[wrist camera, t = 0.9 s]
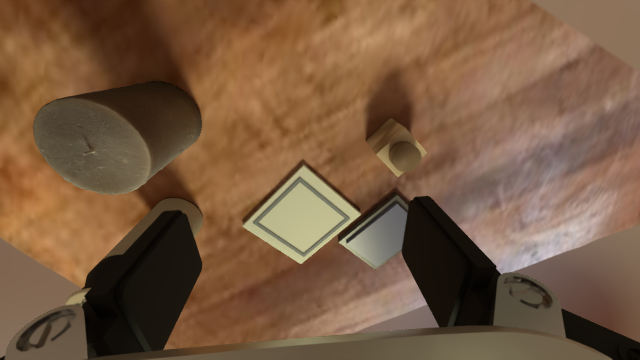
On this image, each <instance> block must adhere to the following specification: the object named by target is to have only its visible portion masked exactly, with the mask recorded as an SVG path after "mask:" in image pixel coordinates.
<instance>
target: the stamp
mask: <svg viewBox="0 0 640 360" xmlns="http://www.w3.org/2000/svg"><path fill="white" fill-rule="evenodd" d="M366 142H367V143H368V144H369V146H370V147H371V148H372V150H373V151H374V152H375V154H376V155H377V156H378V157H379V158H380V159H381V160H382V161H383V162H384V163H385V164H386V165H387V166H388V167H389V168H390V169H391V170H392V171H393V172H394V173H395V174H396V175H397V176H398V177H399V176H400V175H401V174H402V173H404V172H408V171H411V170H413V169H415V168H416V167H417V166H418V165H419V163H420V161H421V158H422V157H423V156H424V155H425V154H426V153H427V152H426V151H425V150H424V149H423V148H422V146H421V145H420V144H419V143H418V142H417V141H416V139H415V138H414V137H413V136H412V135H411V134H410V132H409V131H408V130H407V129H406V128H405V127H404V126H402V125H401V124H399V123H398V122H396V121H395V120H393V119H392V118H390V119H389V120H388V121H387V122H386V123H384V124H383V125H382V126H381V127H380V128H379V129H378V130H377V131H376V132H375V133H374V134H373V135H372V136H371V137H369V138H368V139H367V140H366Z"/></svg>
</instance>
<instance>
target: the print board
mask: <svg viewBox="0 0 640 360" xmlns="http://www.w3.org/2000/svg"><path fill="white" fill-rule="evenodd" d="M360 215H361V213H360V211H358V210H357V209H356V208H355V207H354V206H353V205H351V204H350V203H349V202H348V201H347V200H345V199H344V198H343V197H342V196H341V195H340V194H338V193H337V192H336V191H335V190H334V189H333V188H331V187H330V186H329V185H328V184H327V183H326V182H324V181H323V180H322V179H321V178H320V177H319V176H317V175H316V174H315V173H314V172H313V171H311V170H310V169H309V168H308V167H307V166H306V165H304V164H303V165H302V166H301V167H300V168H299V169H298V170H297V171H296V172H295V173H294V174H293V175H292V176H291V177H290V178H289V179H288V180H287V181H286V182H285V183H284V184H283V185H282V186H281V187H280V188H279V189H278V190H277V191H276V192H275V193H274V194H273V195H272V196H271V197H270V198H269V199H268V200H267V201H266V202H265V203H264V204H263V205H262V206H261V207H260V208H259V209H258V210H257V211H255V212H254V213H253V214H252V215H251V216H250V217H249V218H248V219H247V220H246V221H245V222H244V223H243V227H244V228H246V229H247V230H249V231H250V232H252V233H253V234H255V235H256V236H258V237H260V238H261V239H263V240H264V241H266V242H267V243H269V244H270V245H272V246H273V247H275V248H277V249H278V250H280V251H281V252H283V253H284V254H286V255H287V256H289V257H290V258H292V259H294V260H295V261H297V262H298V263H300V264H301V263H303V262H304V261H305V260H306V259H308V258H309V257H310V256H311V255H312V254H314V253H315V252H316V251H317V250H319V249H320V248H321V247H322V246H323V245H325V244H326V243H327V242H328V241H329V240H331V239H332V238H333V237H334V236H336V235H337V234H338V233H339V232H340V231H342V230H343V229H344V228H345V227H347V226H348V225H349V224H350V223H351V222H353V221H354V220H355V219H356V218H357V217H359V216H360Z"/></svg>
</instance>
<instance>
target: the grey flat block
mask: <svg viewBox="0 0 640 360" xmlns="http://www.w3.org/2000/svg"><path fill="white" fill-rule="evenodd" d="M408 207H409V205H408V204H407V203H406V202H405V201H404V200H403V199H402V198H401V197H400V196H399V195H398V194H397V193H396V192H395V193H394V194H393V195H391V196H390V197H389V198H388V199H386V200H385V201H384V202H383V203H381V204H380V205H379V206H378V207H377V208H375V209H374V210H373V211H372V212H370V213H369V214H368V215H367V216H365V217H364V218H363V219H362V220H361V221H359V222H358V223H357V224H356V225H354V226H353V227H352V228H351V229H349V230H348V231H347V232H346V233H345V234H343V235H342V236H341V237H340V238H338V241H339V243H340V244H342V245H343V246H344V247H346V248H347V249H348V250H350V251H351V252H352V253H354V254H355V255H356V256H358V257H359V258H360V259H362V260H363V261H364V262H366V263H367V264H369V265H370V266H371V267H373V268H374V269H375V270H376V269H377V268H378V267H380V266H381V265H383V264H384V263H385V262H387V261H388V260H389V259H391V258H392V257H394V256H395V255H396V254H398V253H399V252H401V251H402V244H403V238H404V232H405V225H406V219H407V213H408Z"/></svg>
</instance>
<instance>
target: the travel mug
mask: <svg viewBox="0 0 640 360" xmlns="http://www.w3.org/2000/svg"><path fill="white" fill-rule="evenodd" d="M169 210H181V211H182V212H183V213H185V214H186V215H187V217H188V220H189V223H190V226H191V229H192V232H193V236H194V238H195V237H196V235H197V233H198V232H199V230H200V228H201V227H202V224H203V218H202V215H201V213H200V211H199V210H198V209H197V207H195V206H194V205H193V204H192V203H190V202H188V201H186V200H183V199H179V198H168V199H164V200H162V201H160V202H159V203H158V204H157V205H156V206H155V207H154V208H153V209H152V210H151V211H150V212H149V213H148V214H147V215H146V216H145V217H144V218H143V219H142V220H141V221H140V222H139V223H138V224H137V225H136V226H135V227H134V228H133V229H132V230H131V231H130V232H129V233H128V234H127V235H126V236H125V237H124V238H123V239H122V240H121V241H120V242H119V243H118V244H117V245H116V246H115V247H114V248H113V249H112V250H111V251H110V252H109V253H108V254H107V255H106V256H105V257H104V258H103V259H102V260H101V261H100V262H99V263H98V264H97V265H96V266H95V267H94V268H93V269H92V270H91V271H90V273H89V274H88V275H87V278H86V283H85V287H84V288H82V289H81V290H79V291H76V292H75V293H73V294H72V295H70V296H69V297H68V299H67V300H66V302H65V305H69V304H77V305H79V306H82V305H83V304H84V303H85V302H86V301H87V300H86V298H85V297H84V295H85V294H86V293H87V292H88V291H89V290H90V289H91V288H92V287H93V286H94V285H95V284H96V282H97V281H98V280H99V279H100V278H101V277H102V276H103V275H104V274H105V273H106V272H107V271H108V270H109V269H110V268H111V266H112V265H113V264H114V263H115V262H116V261H117V260H118V259H119V258H120V257H121V256H122V255H123V254H124V253H125V251H126V250H127V249H128V248H129V247H130V246H131V245H132V244H133V243H134V242H135V241H136V240H137V239H138V238H139V237H140V235H141V234H142V233H143V232H144V231H145V230H146V229H147V228H148V227H149V226H150V225H151V224H152V223H153V222H154V221H155V219H156V218H157V217H158V216H159V215H160V214H161V213H162V212H163V211H169Z"/></svg>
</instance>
